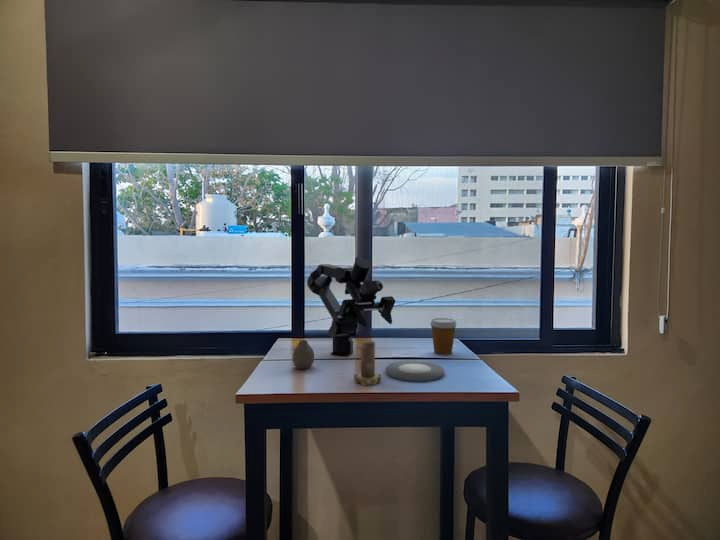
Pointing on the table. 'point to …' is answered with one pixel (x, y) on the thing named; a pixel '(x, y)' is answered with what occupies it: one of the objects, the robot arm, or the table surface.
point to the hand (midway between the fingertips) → (378, 324)
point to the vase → (303, 355)
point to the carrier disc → (415, 371)
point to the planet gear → (367, 365)
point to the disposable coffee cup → (443, 335)
